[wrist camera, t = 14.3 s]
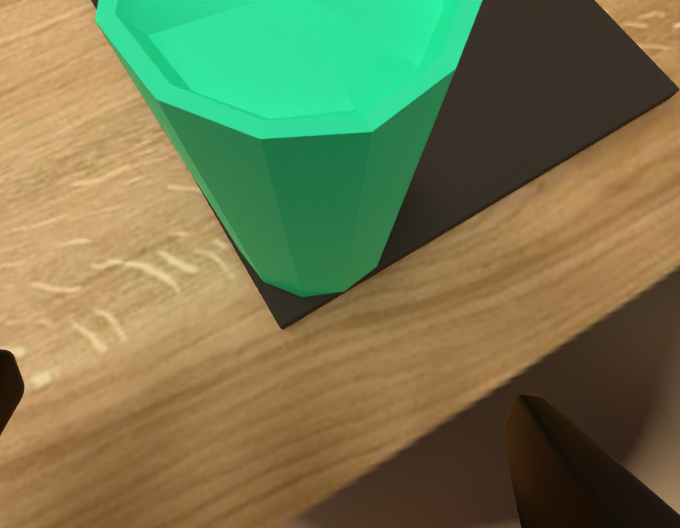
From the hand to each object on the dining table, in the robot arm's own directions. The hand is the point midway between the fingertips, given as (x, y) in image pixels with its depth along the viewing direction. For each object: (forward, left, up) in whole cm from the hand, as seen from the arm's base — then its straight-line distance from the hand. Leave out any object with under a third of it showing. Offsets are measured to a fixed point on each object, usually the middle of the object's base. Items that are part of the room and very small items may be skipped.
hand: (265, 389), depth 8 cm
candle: (+6, -3, -8) cm, 10 cm away
